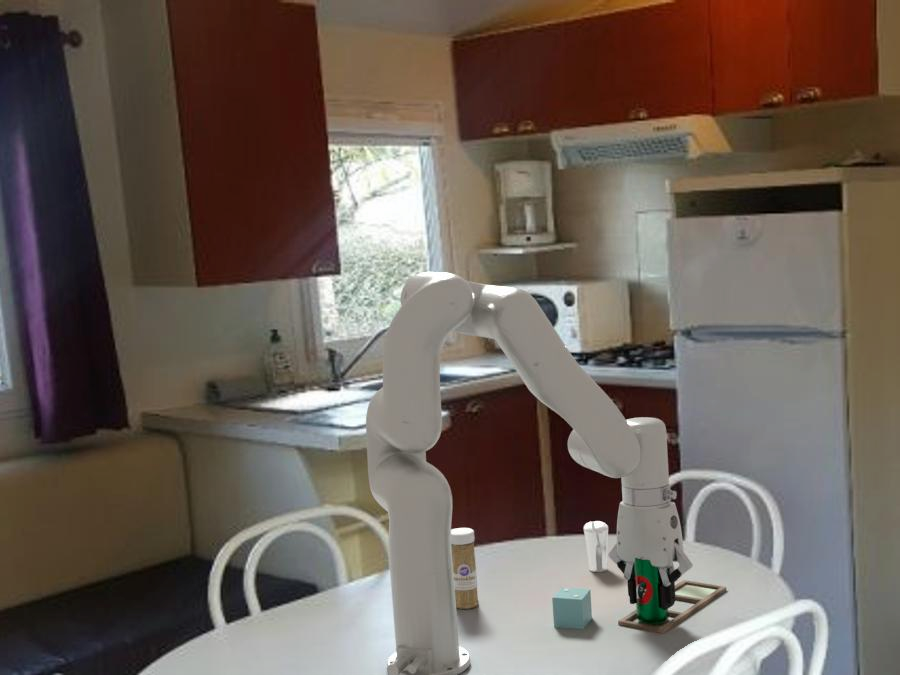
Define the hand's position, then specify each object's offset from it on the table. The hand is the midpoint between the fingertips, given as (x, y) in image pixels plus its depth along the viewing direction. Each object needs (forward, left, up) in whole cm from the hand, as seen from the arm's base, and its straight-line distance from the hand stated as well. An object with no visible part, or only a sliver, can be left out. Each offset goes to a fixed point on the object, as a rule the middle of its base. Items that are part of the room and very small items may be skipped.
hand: (651, 603), depth 181 cm
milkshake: (+23, +16, -3) cm, 28 cm away
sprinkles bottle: (0, +33, -3) cm, 33 cm away
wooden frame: (+7, -2, -3) cm, 8 cm away
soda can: (0, 0, -3) cm, 3 cm away
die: (-4, +12, -3) cm, 13 cm away
